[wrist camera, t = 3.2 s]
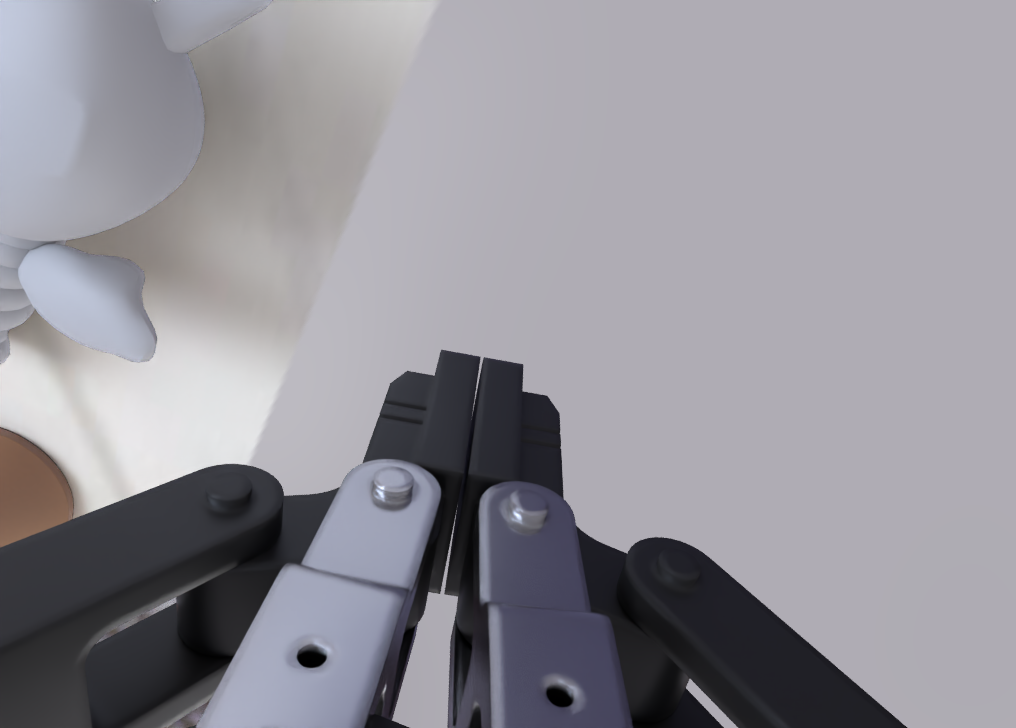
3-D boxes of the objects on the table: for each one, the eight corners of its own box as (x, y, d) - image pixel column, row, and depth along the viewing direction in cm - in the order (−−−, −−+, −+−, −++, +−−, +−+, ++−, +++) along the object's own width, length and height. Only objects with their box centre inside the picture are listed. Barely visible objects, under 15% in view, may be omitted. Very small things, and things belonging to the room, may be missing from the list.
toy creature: (-285, 251, 25) (-191, -424, 15) (-57, 214, 31) (119, -277, 21) (-30, 532, 25) (243, 45, 15) (147, 437, 31) (423, 52, 21)
